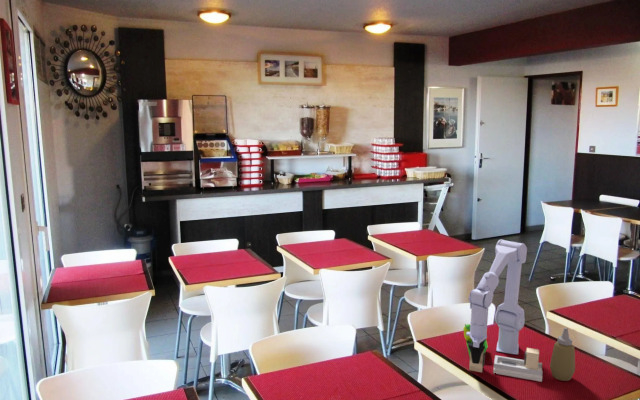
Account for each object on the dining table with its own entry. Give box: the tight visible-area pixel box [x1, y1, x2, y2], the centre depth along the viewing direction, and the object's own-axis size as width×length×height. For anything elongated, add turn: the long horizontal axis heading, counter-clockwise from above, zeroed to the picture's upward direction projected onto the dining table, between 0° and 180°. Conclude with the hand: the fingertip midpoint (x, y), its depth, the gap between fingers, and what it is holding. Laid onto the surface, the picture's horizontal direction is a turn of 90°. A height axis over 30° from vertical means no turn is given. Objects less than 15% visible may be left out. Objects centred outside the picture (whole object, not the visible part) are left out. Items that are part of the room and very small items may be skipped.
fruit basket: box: [462, 323, 489, 358], centre depth 204 cm, size 11×9×11 cm
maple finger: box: [468, 350, 486, 373], centre depth 190 cm, size 4×5×7 cm
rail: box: [492, 347, 543, 383], centre depth 189 cm, size 10×16×8 cm, turn 69°
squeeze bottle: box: [549, 327, 576, 382], centre depth 184 cm, size 8×8×18 cm
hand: (476, 358), depth 190 cm, fingers open, 7 cm apart
